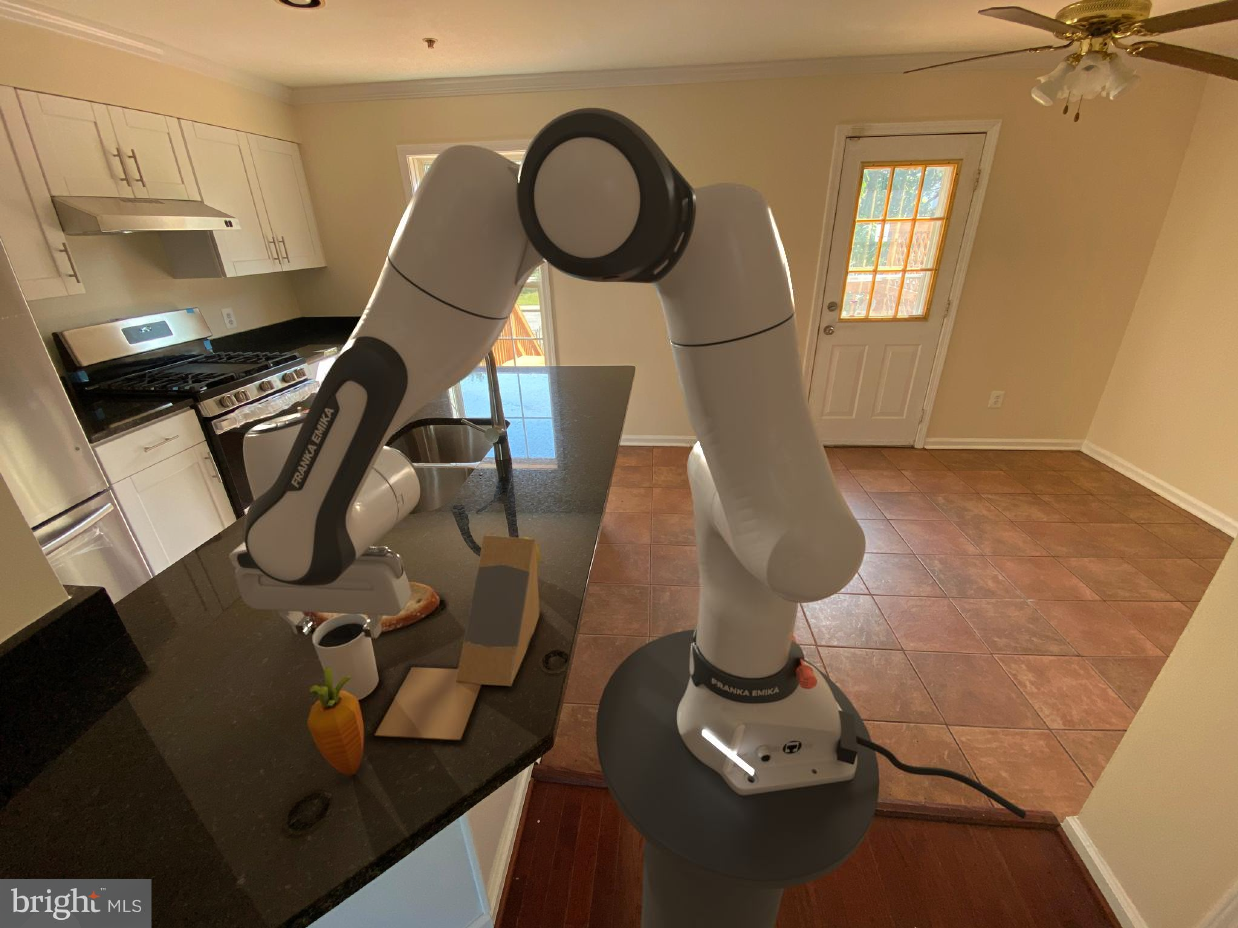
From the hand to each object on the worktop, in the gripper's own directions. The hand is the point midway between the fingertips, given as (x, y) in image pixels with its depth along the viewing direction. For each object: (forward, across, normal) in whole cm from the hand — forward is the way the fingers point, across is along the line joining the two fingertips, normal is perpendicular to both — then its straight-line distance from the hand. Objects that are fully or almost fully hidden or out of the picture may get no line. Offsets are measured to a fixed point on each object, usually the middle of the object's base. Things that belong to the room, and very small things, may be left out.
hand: (339, 632), depth 66 cm
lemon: (+10, -18, -27) cm, 34 cm away
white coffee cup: (+10, 0, 0) cm, 10 cm away
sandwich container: (+10, -19, -9) cm, 23 cm away
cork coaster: (+10, -12, +2) cm, 16 cm away
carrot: (+10, -7, +12) cm, 17 cm away
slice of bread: (+10, +6, -16) cm, 20 cm away
